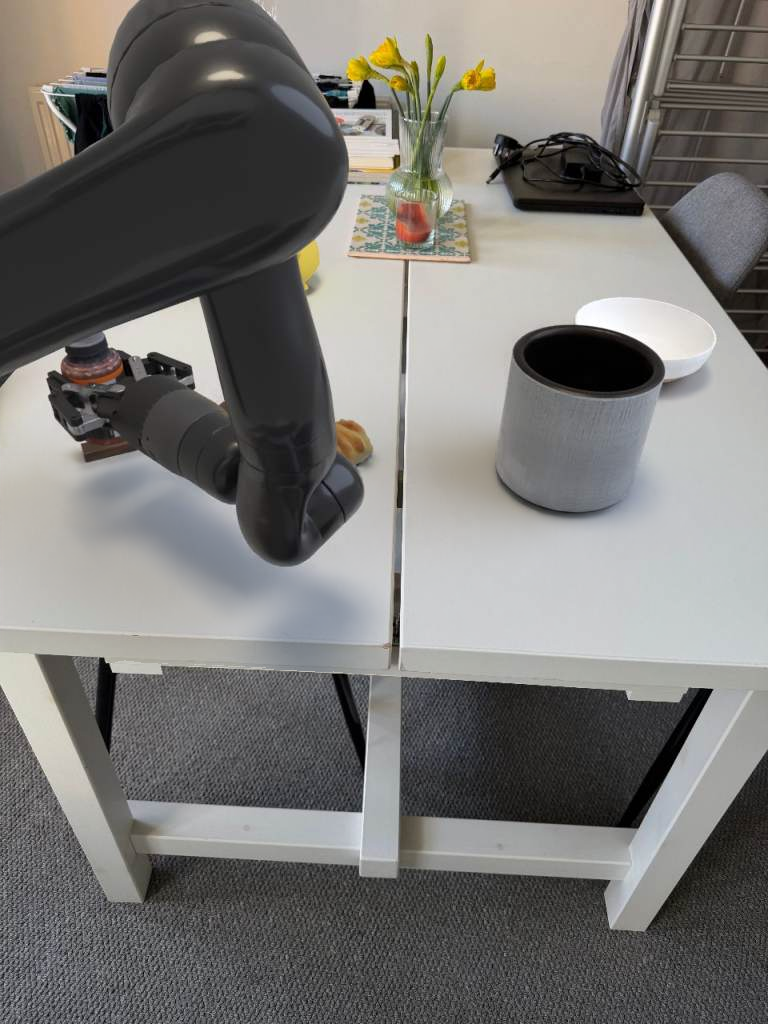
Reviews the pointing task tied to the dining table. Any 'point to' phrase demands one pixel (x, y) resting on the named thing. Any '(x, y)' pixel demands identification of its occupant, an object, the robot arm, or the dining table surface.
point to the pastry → (353, 441)
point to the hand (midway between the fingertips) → (81, 368)
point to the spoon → (111, 447)
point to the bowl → (655, 330)
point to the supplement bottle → (94, 375)
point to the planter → (576, 416)
